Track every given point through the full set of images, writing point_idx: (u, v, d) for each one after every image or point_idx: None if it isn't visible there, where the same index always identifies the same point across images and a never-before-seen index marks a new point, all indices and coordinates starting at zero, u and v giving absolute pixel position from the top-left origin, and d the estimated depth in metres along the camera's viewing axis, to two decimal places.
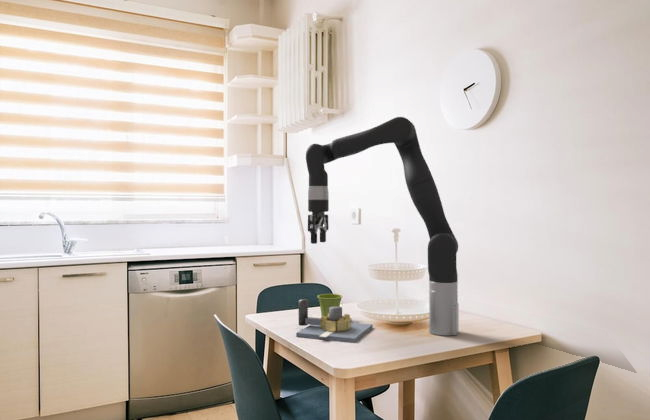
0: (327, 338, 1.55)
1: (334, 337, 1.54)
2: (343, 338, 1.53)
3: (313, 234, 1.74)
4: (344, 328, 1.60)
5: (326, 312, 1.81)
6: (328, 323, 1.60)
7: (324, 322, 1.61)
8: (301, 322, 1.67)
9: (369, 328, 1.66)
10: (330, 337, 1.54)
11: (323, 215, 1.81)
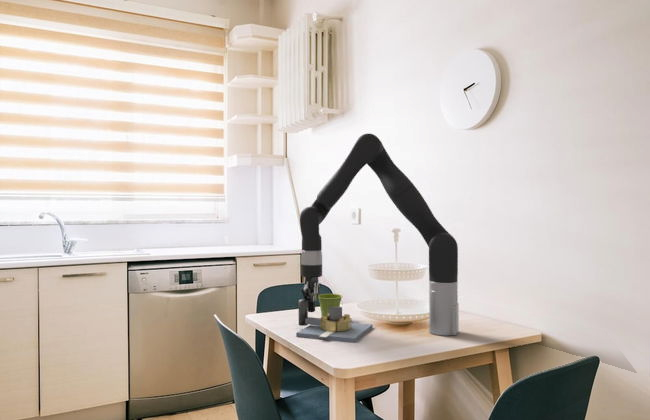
0: (327, 338, 1.55)
1: (334, 337, 1.54)
2: (343, 338, 1.53)
3: (310, 303, 1.72)
4: (344, 328, 1.60)
5: (326, 312, 1.81)
6: (328, 323, 1.60)
7: (324, 322, 1.61)
8: (301, 322, 1.67)
9: (369, 328, 1.66)
10: (330, 337, 1.54)
11: (317, 278, 1.75)
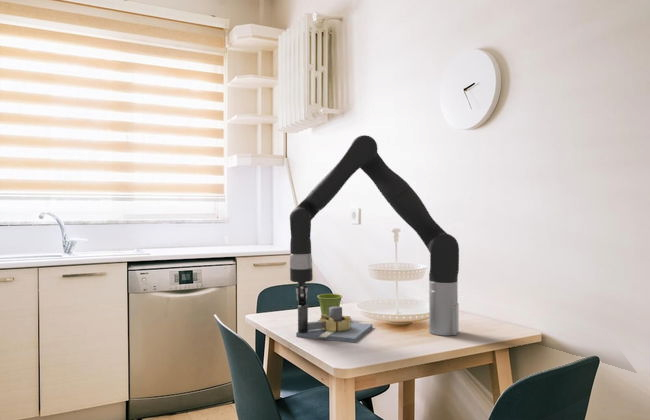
0: (327, 338, 1.55)
1: (334, 337, 1.54)
2: (343, 338, 1.53)
3: None
4: (350, 326, 1.63)
5: (326, 312, 1.81)
6: (340, 323, 1.59)
7: (336, 323, 1.59)
8: (305, 329, 1.58)
9: (369, 328, 1.66)
10: (330, 337, 1.54)
11: None
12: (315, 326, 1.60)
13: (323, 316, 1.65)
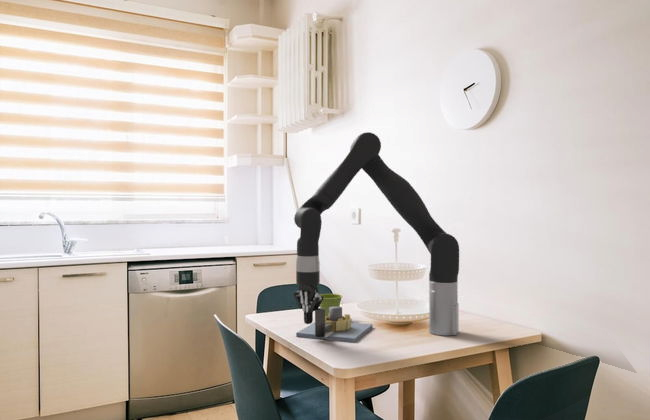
0: (327, 338, 1.55)
1: (334, 337, 1.54)
2: (343, 338, 1.53)
3: (311, 313, 1.56)
4: None
5: (326, 312, 1.81)
6: (348, 322, 1.61)
7: (346, 322, 1.60)
8: (324, 332, 1.53)
9: (369, 328, 1.66)
10: (330, 337, 1.54)
11: None
12: (328, 328, 1.57)
13: (325, 318, 1.62)
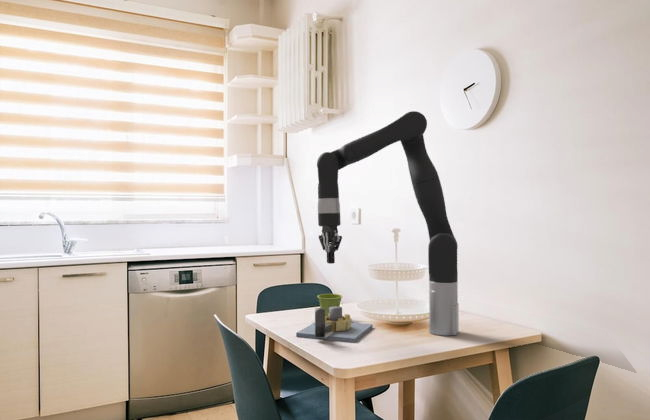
0: (327, 338, 1.55)
1: (334, 337, 1.54)
2: (343, 338, 1.53)
3: (333, 253, 1.63)
4: None
5: (326, 312, 1.81)
6: (348, 322, 1.61)
7: (346, 322, 1.60)
8: (324, 332, 1.53)
9: (369, 328, 1.66)
10: (330, 337, 1.54)
11: None
12: (328, 328, 1.57)
13: (325, 318, 1.62)
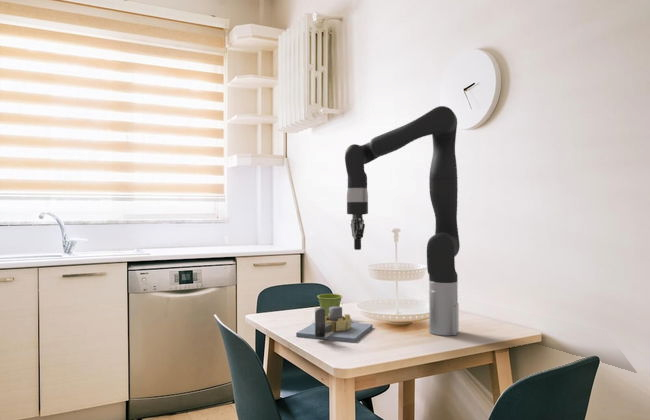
0: (327, 338, 1.55)
1: (334, 337, 1.54)
2: (343, 338, 1.53)
3: (359, 240, 1.73)
4: None
5: (326, 312, 1.81)
6: (348, 322, 1.61)
7: (346, 322, 1.60)
8: (324, 332, 1.53)
9: (369, 328, 1.66)
10: (330, 337, 1.54)
11: None
12: (328, 328, 1.57)
13: (325, 318, 1.62)
